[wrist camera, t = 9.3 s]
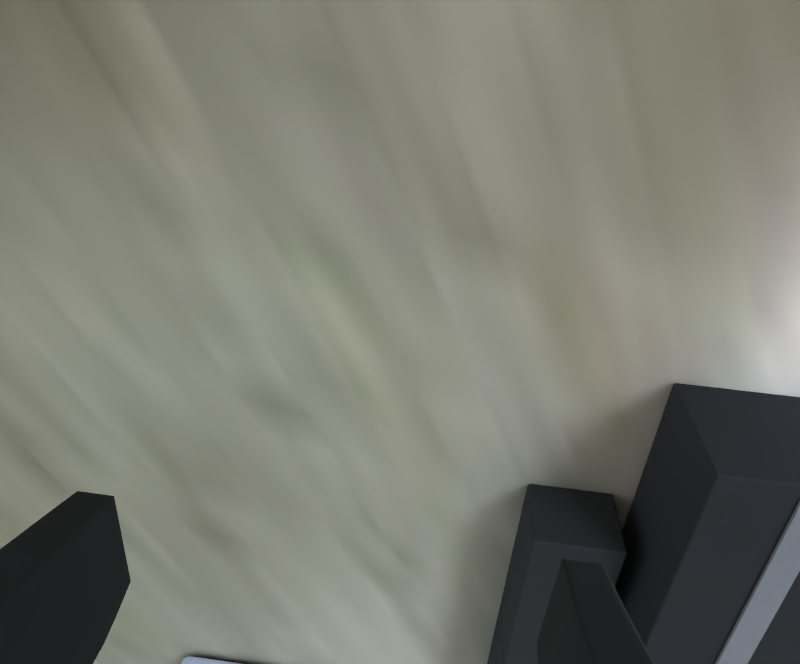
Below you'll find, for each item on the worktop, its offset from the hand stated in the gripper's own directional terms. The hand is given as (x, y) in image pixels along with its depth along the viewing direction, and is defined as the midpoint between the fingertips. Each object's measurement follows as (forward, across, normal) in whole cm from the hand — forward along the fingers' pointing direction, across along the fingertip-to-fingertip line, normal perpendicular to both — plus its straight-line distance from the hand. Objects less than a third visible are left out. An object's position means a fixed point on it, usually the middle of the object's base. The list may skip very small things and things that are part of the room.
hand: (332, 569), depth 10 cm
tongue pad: (+9, -11, +6) cm, 16 cm away
